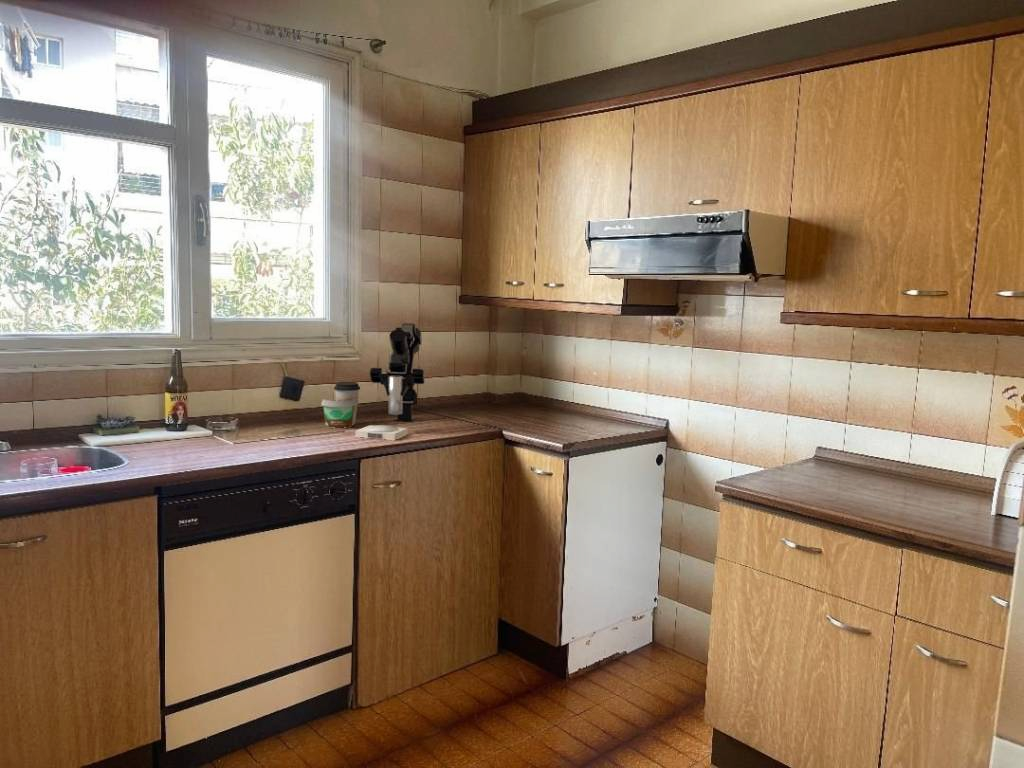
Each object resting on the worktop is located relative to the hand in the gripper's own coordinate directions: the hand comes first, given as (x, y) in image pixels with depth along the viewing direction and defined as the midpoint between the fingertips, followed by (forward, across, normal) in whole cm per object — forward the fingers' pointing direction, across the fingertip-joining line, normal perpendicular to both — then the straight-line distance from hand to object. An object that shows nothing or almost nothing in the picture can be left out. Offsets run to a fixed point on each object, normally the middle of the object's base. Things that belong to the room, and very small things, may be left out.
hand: (394, 395), depth 258 cm
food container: (+5, -21, +14) cm, 26 cm away
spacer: (+4, 0, +6) cm, 7 cm away
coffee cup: (0, -20, +20) cm, 28 cm away
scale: (+14, -4, +5) cm, 15 cm away
